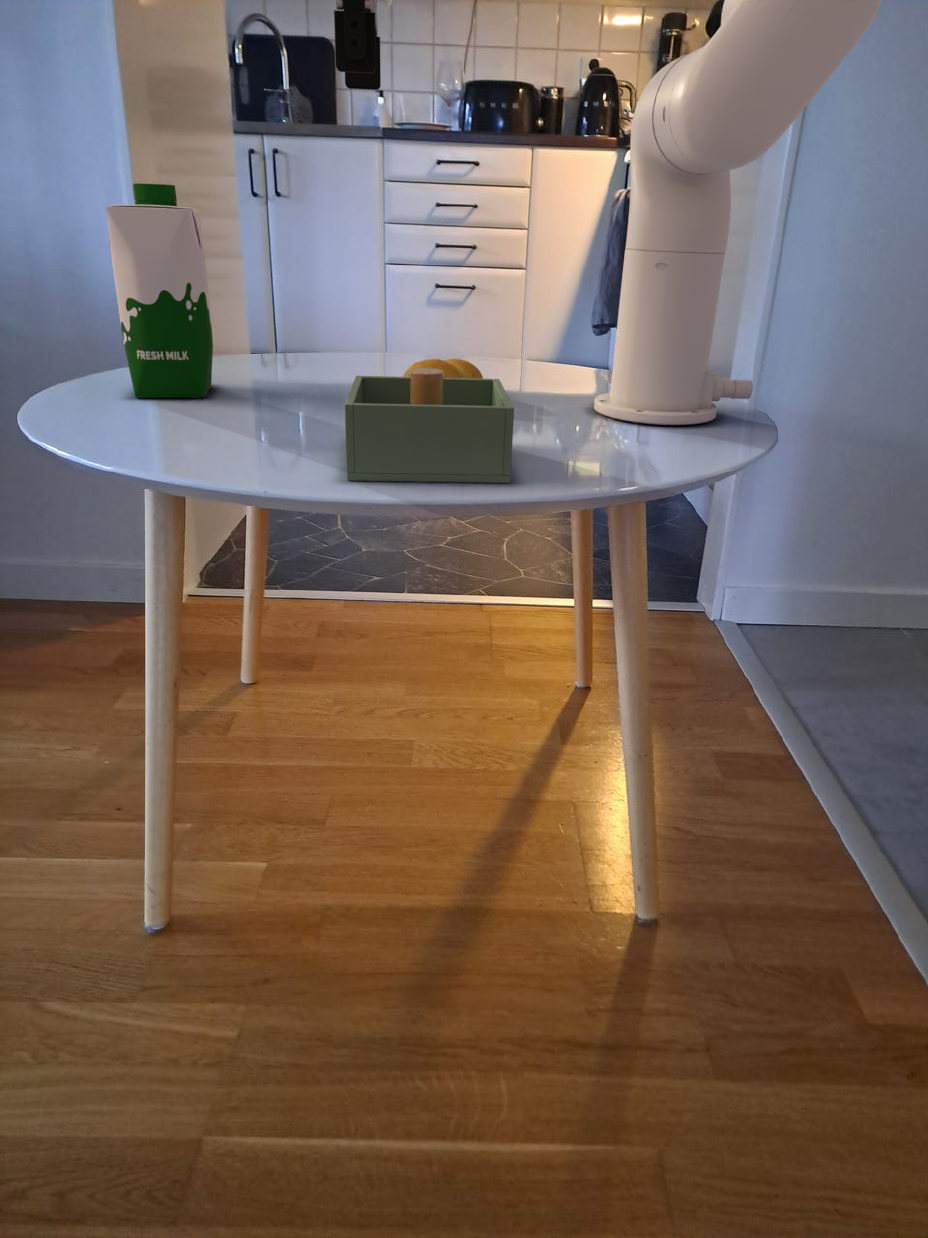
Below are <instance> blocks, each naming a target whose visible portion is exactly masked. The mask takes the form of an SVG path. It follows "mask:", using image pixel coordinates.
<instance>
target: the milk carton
mask: <svg viewBox="0 0 928 1238" xmlns="http://www.w3.org/2000/svg"><path fill="white" fill-rule="evenodd" d="M132 190H133V200H134V204H110V205H109V206H105V211H106V218H107V219H106V220H107V226H108V227H107V228H108V246H110V251H111V252H110V253H111V254H110V255H111V263H112V271H113V276H114V277H113V279H114V286H115V292H116V293H115V294H116V300H117V307H118V313H119V322H120V329H121V330H120V331H121V335H122V341H123V347H124V352H125V357H126V361H127V365H128V370H129V374H130V379H131V385H132V389H133V393H134V398H135V399H205V398H206V396H207V394H208V393H209V390H210V389H211V388H212V381H213V380H212V379H213V378H212V377H213V376H212V375H213V353H214V341H213V340H214V338H213V327H212V316H211V307H210V294H209V285H208V284H209V283H208V273H207V264H206V255H205V249H204V243H203V242H204V241H203V232H202V224H201V219H200V214H199V210H198V209H197V208H193V207H187V206H178V200H177V192H176V185H174V184H161V183H137V182H135V183H132Z"/></svg>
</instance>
